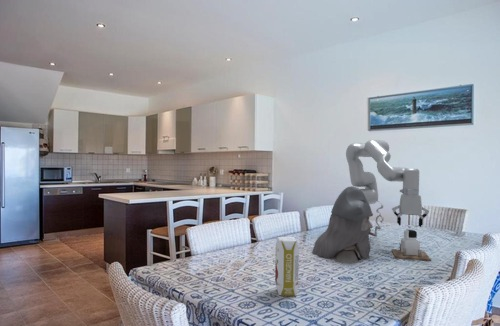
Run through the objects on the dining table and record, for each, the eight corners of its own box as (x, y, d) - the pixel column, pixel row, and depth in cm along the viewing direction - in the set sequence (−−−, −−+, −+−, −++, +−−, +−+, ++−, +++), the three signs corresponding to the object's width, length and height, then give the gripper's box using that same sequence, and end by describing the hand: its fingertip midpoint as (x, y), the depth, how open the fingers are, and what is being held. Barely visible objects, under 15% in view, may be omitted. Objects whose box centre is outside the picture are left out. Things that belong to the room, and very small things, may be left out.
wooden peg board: (395, 258, 168) (395, 249, 168) (391, 250, 183) (391, 242, 183) (431, 261, 163) (431, 252, 163) (424, 253, 179) (424, 244, 179)
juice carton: (294, 288, 124) (295, 236, 124) (299, 297, 116) (299, 241, 116) (274, 288, 124) (275, 236, 124) (277, 297, 115) (277, 241, 116)
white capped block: (414, 252, 176) (415, 229, 177) (419, 255, 169) (420, 231, 170) (400, 251, 177) (400, 228, 178) (404, 255, 170) (405, 231, 170)
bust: (387, 266, 154) (388, 189, 155) (311, 261, 160) (312, 187, 161) (374, 248, 187) (375, 185, 188) (312, 245, 194) (312, 184, 194)
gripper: (393, 192, 173) (392, 225, 173) (431, 193, 168) (429, 228, 168) (391, 190, 180) (390, 223, 180) (427, 192, 175) (426, 225, 175)
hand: (409, 225), depth 174 cm, fingers open, 9 cm apart
